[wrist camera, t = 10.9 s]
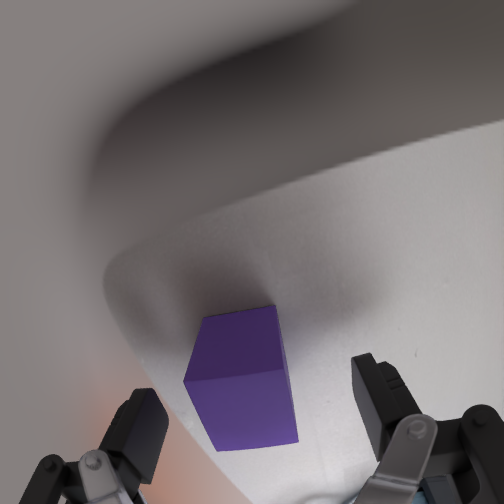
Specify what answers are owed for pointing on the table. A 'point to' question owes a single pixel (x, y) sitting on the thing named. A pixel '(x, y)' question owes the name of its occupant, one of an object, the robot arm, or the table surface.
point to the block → (242, 381)
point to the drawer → (420, 498)
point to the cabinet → (437, 490)
